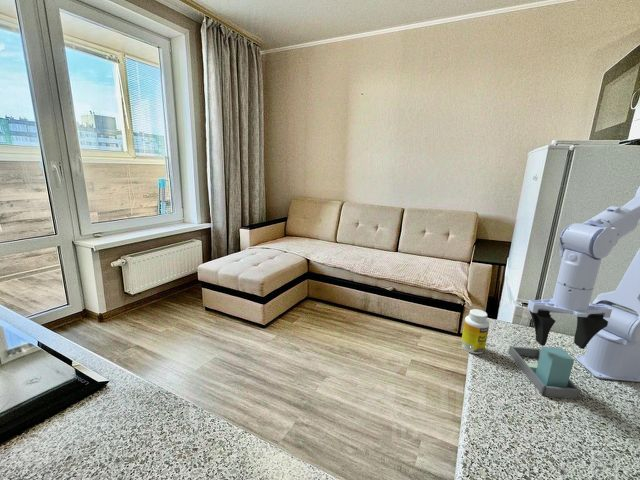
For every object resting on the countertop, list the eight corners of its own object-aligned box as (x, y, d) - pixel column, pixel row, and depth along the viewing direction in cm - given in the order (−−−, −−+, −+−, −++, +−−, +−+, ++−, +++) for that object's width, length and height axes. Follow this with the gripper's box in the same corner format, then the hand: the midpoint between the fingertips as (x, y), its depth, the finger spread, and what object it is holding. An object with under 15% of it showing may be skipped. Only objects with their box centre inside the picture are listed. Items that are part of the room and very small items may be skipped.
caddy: (538, 355, 76) (539, 348, 76) (578, 399, 62) (581, 390, 62) (508, 353, 77) (509, 346, 77) (542, 395, 63) (544, 387, 63)
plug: (553, 379, 68) (561, 348, 66) (565, 392, 64) (574, 359, 62) (534, 377, 68) (541, 346, 66) (545, 390, 65) (553, 357, 63)
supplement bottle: (476, 357, 75) (483, 320, 72) (456, 346, 79) (461, 310, 77) (488, 350, 78) (495, 314, 75) (468, 340, 82) (474, 305, 80)
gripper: (547, 290, 57) (533, 352, 61) (632, 295, 56) (612, 359, 59) (527, 276, 64) (515, 333, 68) (602, 280, 63) (586, 339, 66)
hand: (559, 344), depth 64 cm, fingers open, 7 cm apart
